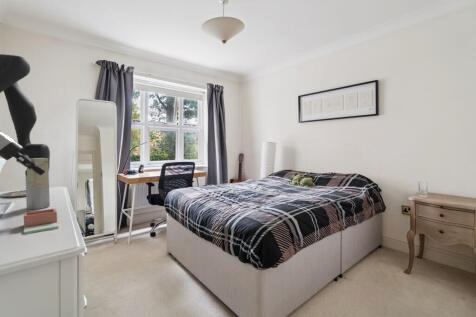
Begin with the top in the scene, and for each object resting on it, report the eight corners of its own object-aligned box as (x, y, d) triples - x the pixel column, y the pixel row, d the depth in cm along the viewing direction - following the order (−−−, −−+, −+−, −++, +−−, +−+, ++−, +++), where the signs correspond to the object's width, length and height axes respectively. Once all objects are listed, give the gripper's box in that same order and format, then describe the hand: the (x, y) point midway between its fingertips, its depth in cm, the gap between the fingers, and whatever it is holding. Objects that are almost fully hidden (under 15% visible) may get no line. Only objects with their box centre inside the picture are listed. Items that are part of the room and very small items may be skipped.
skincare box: (35, 187, 99) (34, 158, 99) (26, 186, 100) (25, 158, 99) (49, 185, 105) (48, 158, 105) (41, 184, 106) (40, 157, 106)
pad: (24, 229, 89) (24, 227, 89) (57, 224, 95) (57, 222, 95) (23, 234, 84) (23, 232, 84) (58, 228, 91) (58, 226, 91)
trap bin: (24, 224, 95) (24, 212, 95) (55, 219, 101) (55, 208, 101) (24, 229, 89) (23, 216, 89) (57, 223, 96) (56, 211, 96)
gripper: (11, 139, 91) (51, 167, 100) (14, 140, 102) (49, 165, 110) (-7, 153, 88) (35, 181, 96) (-3, 152, 99) (34, 177, 107)
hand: (42, 172), depth 103 cm, fingers closed on skincare box, 7 cm apart
